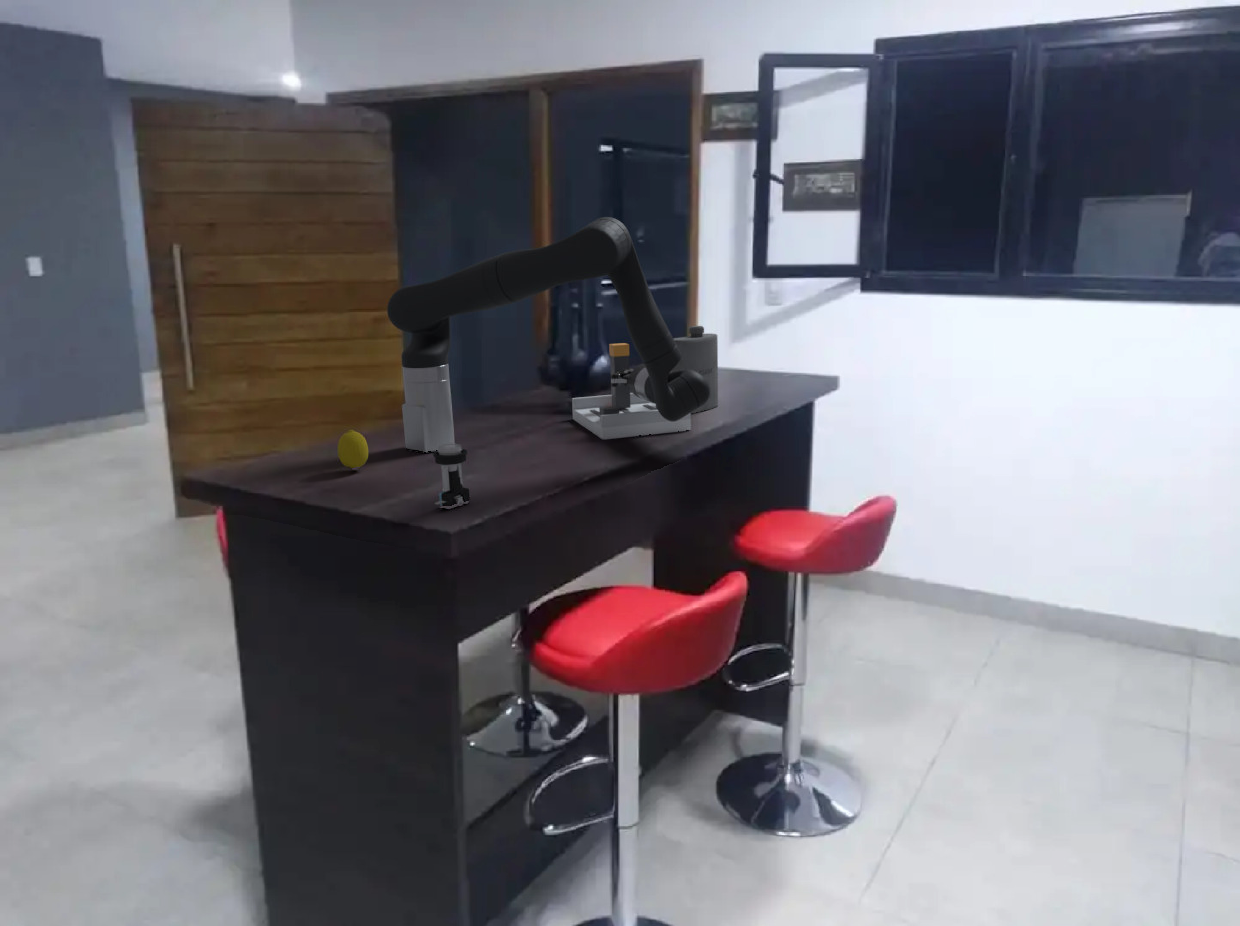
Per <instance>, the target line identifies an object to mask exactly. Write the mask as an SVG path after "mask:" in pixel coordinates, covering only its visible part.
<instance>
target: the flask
mask: <svg viewBox="0 0 1240 926" xmlns="http://www.w3.org/2000/svg"><path fill="white" fill-rule="evenodd" d="M688 333H689V334H690V335H689V336H682V337H681V336H680V337H674V338H673V339H674V341H675V343H676V345H677V347H678V349H679V351H680V353H681V360H680V362H679V363H678V364H677V365H676V366H675V367H674V368H673V369H672V370H671V371H670V372H674V371H681V370H692V371H695V372H697V373H699V374H701V375H702V376H703V377H704V378H705V379H706V381H707V382H708V384H709V387H710V396H709V399H708V401H707V402H706V403H705V404H704V405H702V406H701V407H699V408H697V409H696V410H694V411H693V412H691V413H693V414H697V413H696V412H698V413H701V412H700V411H703V412H705V411H704V410H706V411H709V409H710V410H712V408H713V409H715V408H717V407H718V406H719V380H718V379H719V377H718V376H719V367H718V364H719V363H718V356H719V355H718V354H719V352H718V350H719V349H718V348H719V347H718V334H716V333H705V327H704V326H703V325H692V326H689V327H688ZM714 407H715V408H714Z"/></svg>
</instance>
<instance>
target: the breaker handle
mask: <svg viewBox="0 0 1240 926" xmlns="http://www.w3.org/2000/svg"><path fill="white" fill-rule="evenodd" d="M608 346H609V347H608V348H609V358H610V362H609V363H610V376H611V375H612V374H614V373H616V372H618V371H622V369H628V368H630V344H628V343H625V342H622V343H620V342H619V343H609V344H608ZM610 387H611V388H610V389H611V395H612V406H616V407H618V408H619V409H621V408H631V406H630V393H631V390H630V388H629V387H628V386H624V385H623V383H622V384H620V386H615V387H612V386H611V385H610Z"/></svg>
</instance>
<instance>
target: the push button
mask: <svg viewBox="0 0 1240 926" xmlns="http://www.w3.org/2000/svg"><path fill="white" fill-rule="evenodd" d="M467 454H468V450H467V449H465V448H462V445H461V444H459V443H455V444H444V445H440V446H439V447H438V451H433V453H432V456H433V457H434V460H435V464H437V465H439V466H440V469H441V478H442V479H441V481H442V489H441V490H442V491H441V492H439V494H438V497H439V498H438V499H439V501H436V502H435V503H434V505H439V506H440V505H442V506H452V505H454V504H457V503H458V505H459V504H460V502H461V504H462V503H463V501H464V502H466V501H469V500H470V501H471V498H470V496H471V495H470V489H469V488H467V487H463V486H464V483H463V470H462V464H463V463H464V462H466V461H467Z"/></svg>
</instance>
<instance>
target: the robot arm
mask: <svg viewBox="0 0 1240 926" xmlns="http://www.w3.org/2000/svg"><path fill="white" fill-rule="evenodd" d="M605 276H607V278H609V280H610V281H611V283H612V285H613V286H614V289H615V292H616V293H617V295H618V300H619V302H620V305H621V308H622V312H623V315H624V321H625V325H626V328H627V331H628V335H629V336H630V340H631V342H632V344H633V346H634V348H635V350H636V352H637V353H638V355H639V358H640V359H641V361H642V364H639V365H637V366H635V367H634V368H631V367H629V368H628V369H622V371H618V372H616V373H614V374H612V375H611V374H610V387H611V386H612V387H615V386H620V384H622V383H623V385H624V386H628V387H629V388H630V392H631V393H633V394H634V395H635V396H637V397H639V398H641V399H643V400H645V401H647V402H650V403H654V404H656V407H657V409H658V411H659V413H660V414H661V416H662V417H663V418H665V419H666V420H668V421H672V422H675V421H678V420H680V419H681V418H683V417H685V416H686V415H688V414H689V413H691V412H693V411H694V410H696V409H697V408H699V407H701V406H702V405H704V404H705V403H706V402H707V401H708V399H709V396H710V387H709V384H708V382H707V381H706V379H705V378H704V377H703V376H702V375H701V374H699V373H697V372H695V371H692V370H681V371H674V372H671V370H672V369H673V368H674V367H675V366H676V365H677V364H678V363H679V362H680V360H681V353H680V351H679V349H678V347H677V345H676V343H675V341H674V338H673V335H672V333H671V331H670V330H669V328H668V326H667V324H666V322H665V320H664V318H663V316H662V314H661V312H660V310H659V308H658V306H657V303H656V302H655V299H654V296H653V294H652V292H651V290H650V289H651V288H650V287H649V285H648V281H647V280H646V276H645V274H644V272H643V269H642V266H641V263H640V261H639V257H638V254H637V250H636V248H635V245H634V243H633V240H632V237H631V234H630V232H629V230H628V228H627V226H625V224H624V223H622V222H621V221H620V220H618V219H616V218H614V217H611V216H604V217H603V216H602V217H599V218H597V219H595V220H593V221H591V222H590V223H588V224H587V225H586V226H583V228H581V229H579V230H578V231H576V232H575V233H573V234H570V235H569V236H567V237H565V238H563V239H560V240H558V241H556V242H554V243H551V244H548V245H545V246H542V247H538V248H537V247H536V248H528V249H527V248H525V249H517V250H513V251H508V252H504V253H501V254H499V255H496V256H492V257H490V258H486V259H484V260H481V261H479V262H477V263H473V264H472V265H470V266H467V267H465V268H463V269H460V270H459V271H456V272H454V273H451V274H449V275H448V276H445V277H443V278H439V279H436V280H431V281H428V282H424V283H418V284H413V285H406V286H403V287H401V288H399V289H397V290H396V291H395V292H394V293H393V294H392V295H391V296H390V299H389V301H388V303H387V307H386V310H387V311H386V312H387V313H386V314H387V316H388V317H387V318H388V319H389V321H390V322H391V324H392V325H393V326H394V327H395V328H396V329H398V330H400V331H402V332H404V333H405V332H406V333H411V339H410V342H409V344H408V345H407V347H406V348H405V349H404V350H403V351H402V353H401V366H402V367H401V368H402V376H403V389H404V399H405V403H403V404H402V405H401V409H402V411H401V412H402V420H403V431H404V440H405V441H404V443H405V449H406V448H410V449H415V450H419V451H423V452H422V453H424V452H426V453H429V452H428V451H431V452H435V451H436V450H438V447H439V446H440V445H444V444H456V443H455V431H454V430H455V429H454V418H453V417H454V416H453V407H452V403H453V402H452V394H451V381H450V370H449V368H450V367H449V353H450V350H451V344H452V343H451V342H452V341H451V339H452V338H451V337H452V336H451V317H453V316H457V315H464V314H470V313H477V312H482V311H488V310H493V309H498V308H501V307H506V306H507V305H511V304H512V305H513V304H514V303H517V302H521V301H523V300H526V299H528V298H532V297H533V296H536V295H539V294H541V293H543V292H546V291H548V290H550V289H553V288H554V287H555V288H556V287H557V286H560V285H565V284H569V283H574V282H579V281H584V280H590V279H594V278H595V279H597V278H601V277H605Z"/></svg>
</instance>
